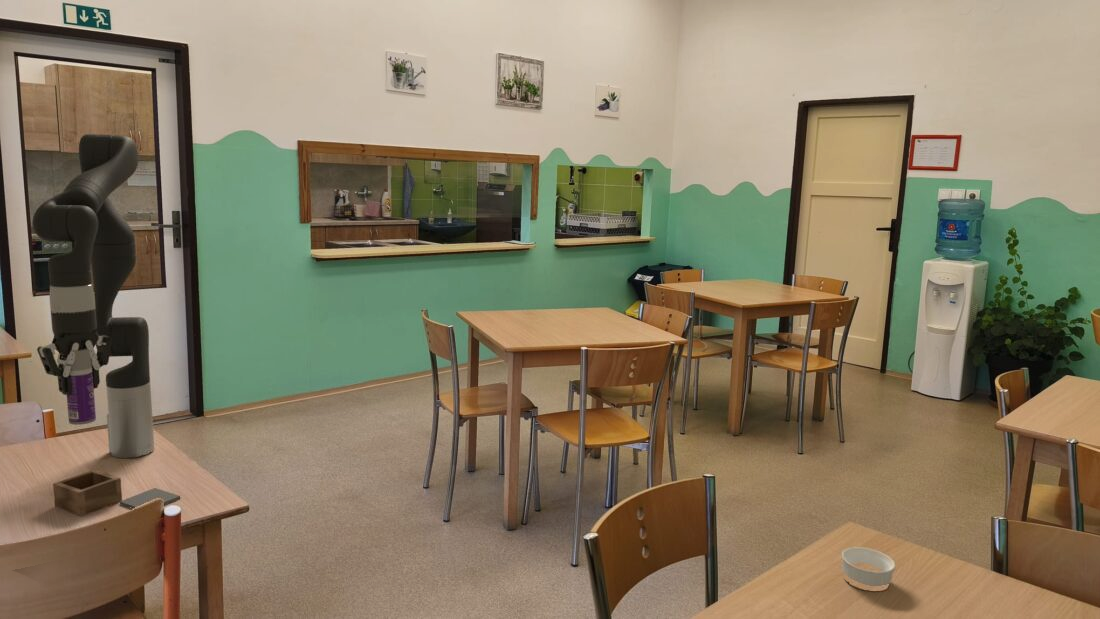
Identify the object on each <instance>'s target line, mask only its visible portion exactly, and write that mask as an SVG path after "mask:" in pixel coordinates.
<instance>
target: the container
mask: <svg viewBox="0 0 1100 619" xmlns="http://www.w3.org/2000/svg"><path fill="white" fill-rule="evenodd" d="M64 360H67V358H64ZM69 376H70V377H71V389H72V394H70V395H66V404H67V413H68V414H67V415H68V424H70V425H75V426H79V425H87V424H92V423H94V422H95V421H96V420H97V415H96V402H95V390H94V386H93V373H92V364H91V358H90V351H89V349H80V350H78V351H75V360H74V364H73V365H72V366H71V369H70V373H69Z"/></svg>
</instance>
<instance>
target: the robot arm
mask: <svg viewBox="0 0 1100 619" xmlns="http://www.w3.org/2000/svg"><path fill="white" fill-rule="evenodd" d="M137 147H138V146H137V144H136V142H135V140H133V139H132V138H131V137H129V136H125V135H120V134H98V133H96V134H95V133H94V134H93V133H88V134H83V135H82V136H81V138H80V140H79V142H78V159H79V165H80V173H81V174H78V175H77V176H75V177H74V178H72V179H71V181H69V183H68V184H67V185H66V187H65V188H64V190H63V191H62V192H61V193H59V194H57V195H55V196H53V197H50V198H49V199H48V200H46V201H44V202H43V203H41V204H40V206H39V207H37V209H36V210H35V211H34V214H33V217H32V228H33V231H34V233H35V235H36V236H38V238H40V239H41V240H43V241H46V242H54V243H55V242H58V243H59V242H60V243H61V242H66V243H67V242H70V243H71V242H73V243H74V246H73V249H72V250H71V251H69V252H64V253H59V254H53V255H52V256H50V257H49V259H48V262H47V263H48V265H47V269H48V278H49V309H50V318H51V320H50V322H51V329H52V333H53V338H52V341H51V343H50V344H47V345H46V346H41V345H40V346H38V347H37V349H36V351H37V353H38V355H39V358H40V361H41V363H42V365H43V368H44V371H45V373H46V374H47V375H51V376H53V377H57V384H58V391H59V392H60V393H62V395H64V396H67V395H70V394H72V389H71V377H70V376H69V373H70V369H71V366H72V365H73V364H74V360H75V351H78V350H80V349H89V351H90V358H91V364H92V373H93V386H94V389H98V387H99V385H100V382H101V379H100V369H101V368H102V367H104V366H108V364H109V360H110V357H111V358H112V357H113V358H115V357H132V361H130V362H129V363H127V364H125V365H124V366H123V365H122V366H121V367H118V368H115V369H113V370H110V371H109V372H107V374H106V375H105V385H106V386H105V387H106V399H107V411H108V412H107V415H106V423H107V437H108V449H109V450H108V452H110V454H111V456H112V457H114V458H119V459H130V458H138V457H143V456H146V455H148V454H150V452H151V453H152V452H154V450H155V441H154V440H155V439H154V438H155V437H154V436H155V435H154V422H153V421H154V420H153V404H152V391H151V377H150V376H151V375H150V333H149V332H150V330H149V324H148V322H147V320H146V319H145V318H144V317H140V316H129V317H126V316H125V317H122V316H121V317H114V316H113V307H114V306H113V305H114V303H115V300H116V298H117V296H118V294H119V292H120V290H121V288H122V287H123V286H124V284H125V283H126V281H127V279H128V278H129V277H130V275H131V274H132V273H133V270H134V268H135V265H136V263H137V253H136V250H137V249H136V242H135V241H136V240H135V239H136V238H135V233H134V231H133V229H132V227H131V226H130V225H129V223H128V222H127V220H126V219H125V218H124V216H123V215H122V214H121V212H120V211H119V210H118V209H117V208H116V206H115V205H114V203H113V202H112V200H111V199H110V197H109V196H110V195H111V194H112V193H113V192H114V191H115V190H117V188H119V187H120V186H121V185H122V184H124V183H125V182H126V181H127V180H128V179H130V178H131V177H132V176H133V175H134V173H135V172H136V170H137V168H138V166H139V165H138V163H139V151H138V148H137ZM95 347H96V350H95V349H94V348H95ZM55 350H56V351H57V352H58V355H57V358H56V359H55V356H56V353H55ZM64 358H67V360H64ZM142 455H143V456H142Z"/></svg>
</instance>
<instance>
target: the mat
mask: <svg viewBox="0 0 1100 619" xmlns="http://www.w3.org/2000/svg"><path fill="white" fill-rule="evenodd" d="M156 498H161V499H163V500H164V505H163V506H166V505H168V504H170V503H173V502H176V501H178V500H180V499H181V495H179V494H175V493H173V492H169V491H166V490H162V489H160V488H156V487H154V488H151V489H148V490H146V491H143V492H140V493H138V494H135V495H133V496H130V497H128V498H126V499H122V501H120V502H119V505H121V506H124V505H125V506H124V507H127V508H130V507H131V508H130V509H133V508H135V507H137V506H140V505H142V504H144V503H146V502H149V501H151V500H153V499H156Z"/></svg>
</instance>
